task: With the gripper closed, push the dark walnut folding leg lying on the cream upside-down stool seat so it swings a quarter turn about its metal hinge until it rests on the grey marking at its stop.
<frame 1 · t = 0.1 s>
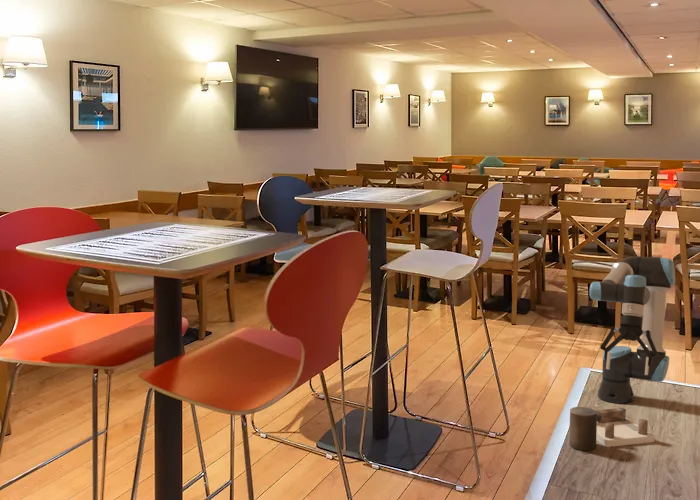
hand: (626, 372, 246), 28 cm above the table, tool tilted 20°, fingers open, 13 cm apart
pillar candle: (582, 446, 248), on the table
folding leg: (610, 415, 264), point 5 cm above the table, hinge at 0.0°
stool seat: (615, 434, 257), on the table
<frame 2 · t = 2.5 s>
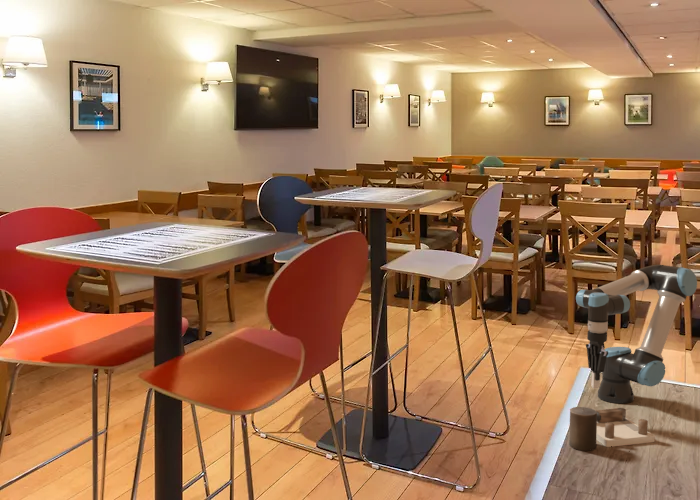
hand: (595, 387, 269), 14 cm above the table, tool pointing down, fingers closed
nothing on the table moved.
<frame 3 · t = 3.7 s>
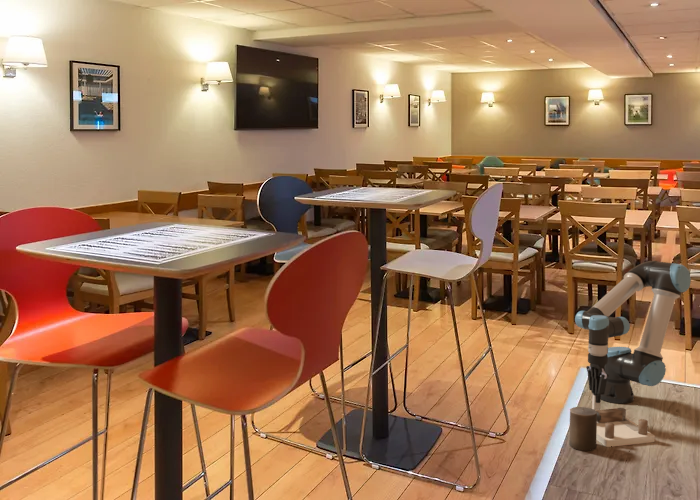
hand: (596, 409, 270), 5 cm above the table, tool pointing down, fingers closed
nothing on the table moved.
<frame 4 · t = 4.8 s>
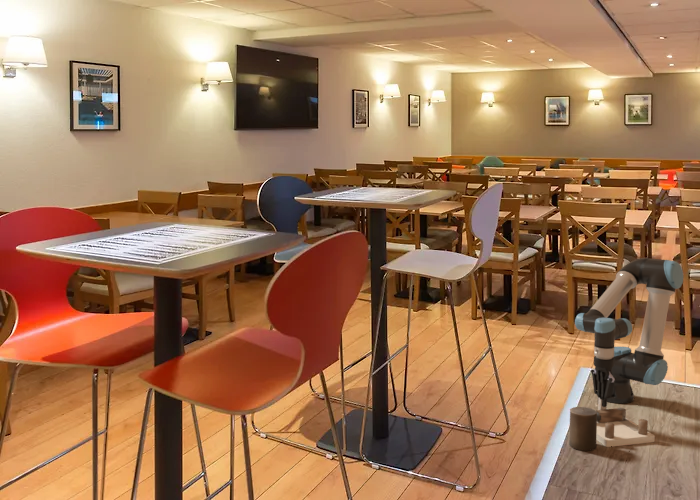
hand: (602, 413, 266), 5 cm above the table, tool pointing down, fingers closed
folding leg: (610, 415, 264), point 5 cm above the table, hinge at 0.0°, touching gripper
everything else where it was.
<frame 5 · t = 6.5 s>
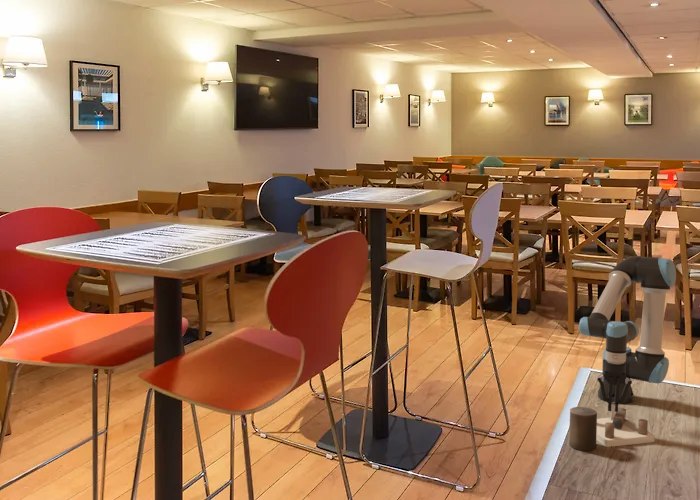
hand: (612, 419, 260), 5 cm above the table, tool pointing down, fingers closed
folding leg: (619, 418, 261), point 5 cm above the table, hinge at 49.5°, touching gripper
everything else where it was.
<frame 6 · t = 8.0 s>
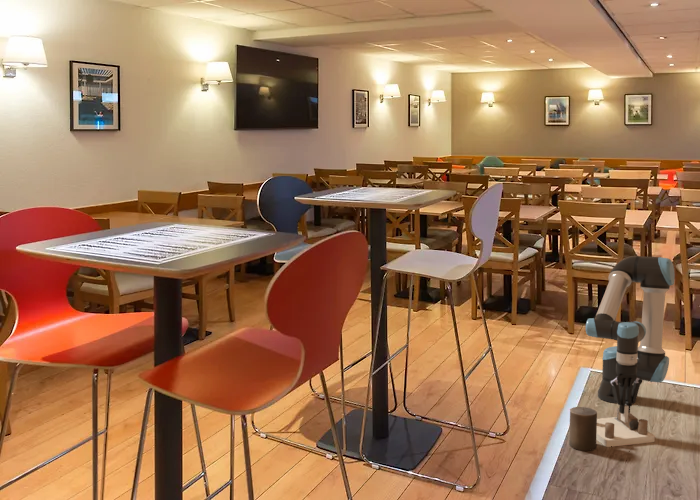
hand: (624, 420, 257), 5 cm above the table, tool pointing down, fingers closed
folding leg: (626, 418, 260), point 5 cm above the table, hinge at 82.7°, touching gripper
everything else where it was.
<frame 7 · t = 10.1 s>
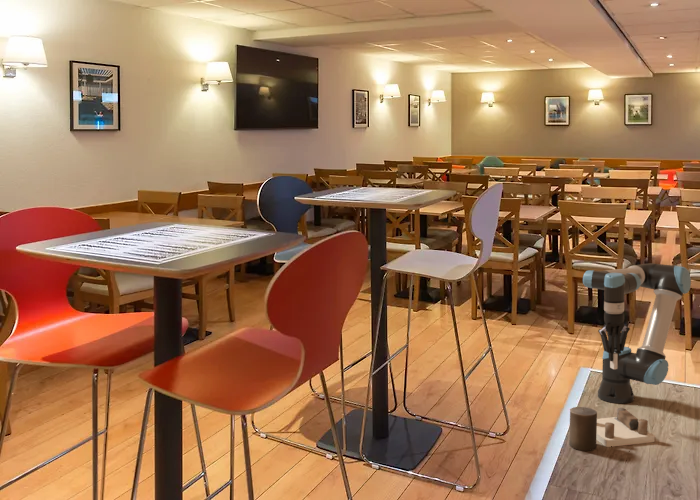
hand: (613, 368, 266), 23 cm above the table, tool pointing down, fingers closed
folding leg: (626, 418, 260), point 5 cm above the table, hinge at 82.8°
everything else where it was.
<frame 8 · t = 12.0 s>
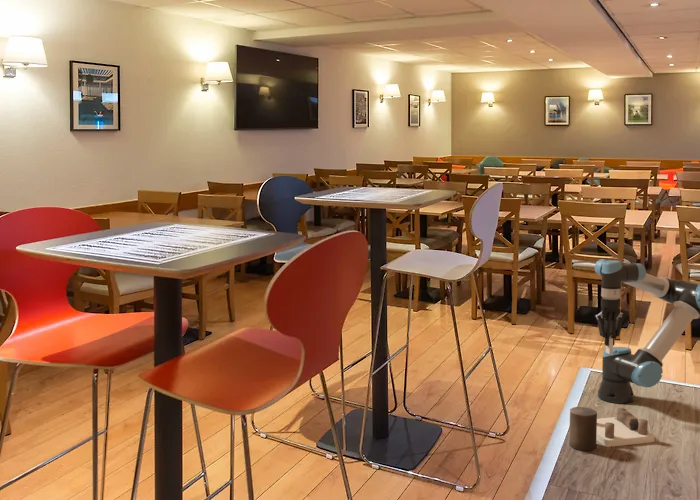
hand: (609, 353, 275), 26 cm above the table, tool pointing down, fingers closed
nothing on the table moved.
at the end: folding leg at +83° (first picture: +0°); the gripper is holding nothing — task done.
